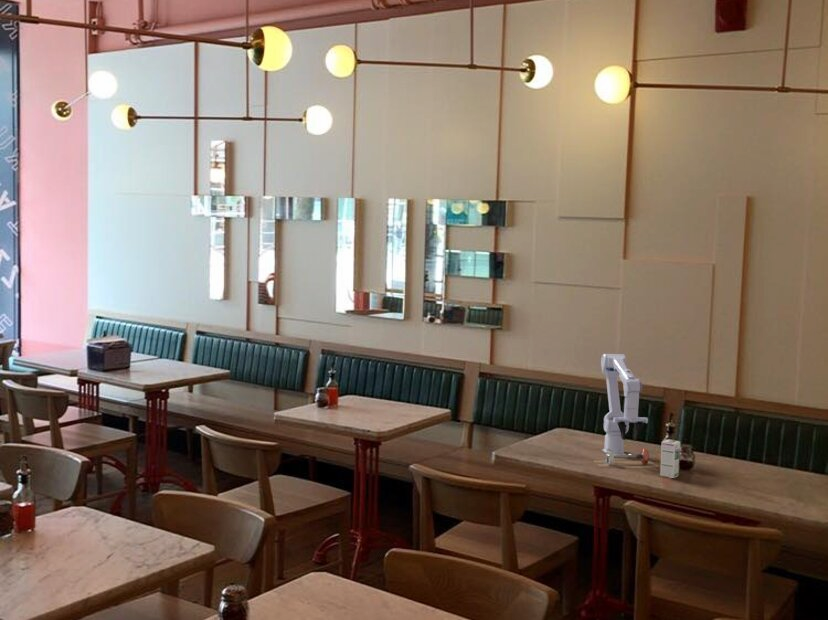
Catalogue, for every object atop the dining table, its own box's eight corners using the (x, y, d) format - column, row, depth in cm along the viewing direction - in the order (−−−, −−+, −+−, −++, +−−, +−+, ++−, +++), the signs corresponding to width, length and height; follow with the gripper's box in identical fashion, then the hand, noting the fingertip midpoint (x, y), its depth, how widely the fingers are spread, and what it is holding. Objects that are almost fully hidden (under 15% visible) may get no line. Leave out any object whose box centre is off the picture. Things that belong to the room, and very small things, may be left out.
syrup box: (673, 479, 377) (675, 443, 376) (659, 476, 381) (661, 440, 379) (678, 476, 382) (681, 441, 380) (664, 473, 385) (667, 438, 384)
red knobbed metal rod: (608, 465, 392) (609, 451, 392) (603, 461, 398) (604, 447, 398) (649, 465, 395) (650, 451, 394) (644, 461, 401) (644, 447, 400)
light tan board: (592, 461, 401) (592, 460, 401) (648, 461, 404) (648, 460, 404) (601, 469, 389) (601, 467, 389) (659, 468, 392) (659, 467, 392)
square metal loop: (603, 462, 398) (604, 448, 398) (610, 462, 399) (611, 448, 398) (608, 465, 392) (609, 452, 392) (615, 465, 393) (616, 452, 392)
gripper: (618, 409, 392) (616, 441, 393) (651, 409, 394) (649, 441, 395) (612, 406, 399) (610, 437, 400) (645, 406, 401) (643, 437, 402)
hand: (629, 439), depth 398 cm, fingers open, 5 cm apart
